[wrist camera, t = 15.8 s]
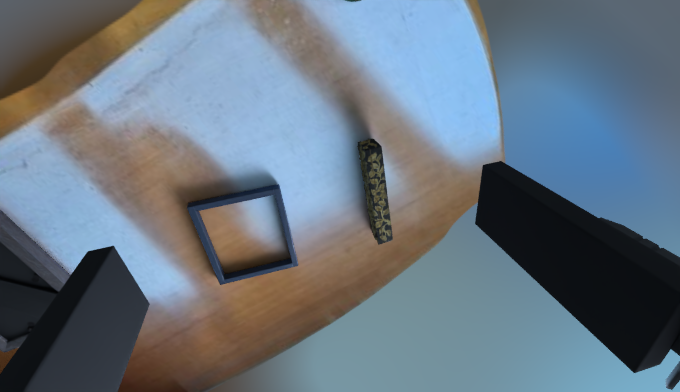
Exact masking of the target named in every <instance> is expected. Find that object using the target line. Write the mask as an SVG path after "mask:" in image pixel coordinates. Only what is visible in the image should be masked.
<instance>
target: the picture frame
mask: <svg viewBox="0 0 680 392" xmlns="http://www.w3.org/2000/svg"><path fill="white" fill-rule="evenodd" d="M69 277H70V275H69V274H68V273H67V272H66V271H65V270H64V269H63V268H62V267H61V266H60V265H59V264H58V263H56V262H55V261H54V260H53V259H52V258H51V257H50V256H49V255H48V254H47V253H46V252H45V251H44V250H43V249H41V248H40V247H39V246H38V245H37V244H36V243H35V242H34V241H33V240H32V239H31V238H30V237H29V236H28V235H26V234H25V233H24V232H23V231H22V230H21V229H20V228H19V227H18V226H17V225H16V224H15V223H14V222H13V221H12V220H10V219H9V218H8V217H7V216H6V215H5V214H4V213H3V212H2V211H1V210H0V350H1V351H3V352H7V351H10V350H12V349H15V348H18V347H20V346H21V344H22V343H23V342H24V340H25V339H26V337H27V336H28V335H29V333H30V332H31V330H32V329H33V328H34V326H35V325H36V323H37V322H38V321H39V319H40V318H41V316H42V315H43V314H44V312H45V311H46V309H47V308H48V307H49V305H50V304H51V302H52V301H53V300H54V298H55V297H56V295H57V294H58V293H59V291H60V290H61V288H62V287H63V286H64V284H65V283H66V281H67V280H68V279H69Z"/></svg>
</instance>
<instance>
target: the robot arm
mask: <svg viewBox="0 0 680 392" xmlns="http://www.w3.org/2000/svg"><path fill="white" fill-rule="evenodd" d="M475 224H476V225H477V226H478V227H479V228H480V229H481V230H482V231H483V232H485V233H486V234H487V235H488V236H489V237H490V238H491V239H492V240H493V241H494V242H495V243H497V245H498V246H499V247H501V248H502V249H503V250H504V251H505V252H506V253H507V254H508V255H509V256H510V257H511V258H512V259H514V261H515V262H517V263H518V264H519V265H520V266H521V267H522V268H523V269H524V270H525V271H526V272H527V273H528V274H529V275H531V277H533V278H534V279H535V280H536V281H537V282H538V283H539V284H540V285H541V286H542V287H543V288H544V289H545V290H546V291H547V292H549V293H550V294H551V295H552V296H553V297H554V298H555V299H556V300H557V301H558V302H559V303H560V304H561V305H562V306H564V308H565V309H567V310H568V311H569V312H570V313H571V314H572V315H573V316H574V317H575V318H576V319H577V320H578V321H579V322H580V323H581V324H583V325H584V326H585V327H586V328H587V329H588V330H589V331H590V332H591V333H592V334H593V335H594V336H595V337H596V338H597V339H599V340H600V341H601V342H602V343H603V344H604V345H605V346H606V347H607V348H608V349H609V350H610V351H611V352H612V353H613V354H615V355H616V356H617V357H618V358H619V359H620V360H621V361H622V362H623V363H624V364H625V365H626V366H627V367H628V368H629V369H630V370H632V371H633V372H634V373H636V372H639V371H642V370H645V369H648V368H651V367H654V366H656V365H659V364H660V363H661V362H662V361H663V359H664V358H665V356H666V355H667V354H668V352H669V350H670V349H672V350H673V351H674V352H676V353H677V354H678V355H679V356H680V257H678V256H676V255H674V254H673V253H671V252H669V251H667V250H666V249H664V248H659V246H658V245H657V244H655V243H653V242H652V241H649V240H648V239H643V236H641V235H639V234H637V233H636V232H634V231H632V230H630V229H629V228H627V227H625V226H623V225H621V224H618V223H615V222H612V221H609V220H606V219H604V218H597V217H595V216H594V215H592V214H590V213H589V212H587V211H585V210H584V209H582V208H580V207H578V206H576V205H575V204H573V203H572V202H570V201H568V200H566V199H565V198H563V197H561V196H560V195H558V194H556V193H554V192H553V191H551V190H550V189H548V188H546V187H544V186H543V185H541V184H539V183H537V182H536V181H534V180H532V179H531V178H529V177H527V176H525V175H524V174H522V173H520V172H519V171H517V170H515V169H514V168H512V167H510V166H509V165H507V164H505V163H503V162H502V161H499V162H495V163H490V164H486V165H483V169H482V176H481V184H480V191H479V199H478V206H477V214H476V222H475ZM148 307H149V302H148V300H147V299H146V297H145V296H144V294H143V292H142V291H141V289H140V288H139V286H138V284H137V283H136V281H135V280H134V278H133V276H132V275H131V273H130V272H129V270H128V268H127V267H126V265H125V263H124V262H123V260H122V259H121V257H120V255H119V254H118V252H117V251H116V249H115V247H114V246H111V247H106V248H101V249H97V250H92V251H88V252H87V253H86V255H85V256H84V258H83V259H82V260H81V262H80V263H79V265H78V266H77V267H76V269H75V270H74V272H73V273H72V274H71V276H70V277H69V279H68V280H67V281H66V283H65V284H64V286H63V287H62V288H61V290H60V291H59V293H58V294H57V295H56V297H55V298H54V300H53V301H52V302H51V304H50V305H49V307H48V308H47V309H46V311H45V312H44V314H43V315H42V316H41V318H40V319H39V321H38V322H37V323H36V325H35V326H34V328H33V329H32V330H31V332H30V333H29V335H28V336H27V337H26V339H25V340H24V342H23V343H22V344H21V346H20V347H19V349H18V350H17V351H16V353H15V354H14V356H13V357H12V358H11V360H10V361H9V363H8V364H7V365H6V367H5V368H4V370H3V371H2V372H1V374H0V392H117V391H118V389H119V386H120V383H121V381H122V378H123V375H124V372H125V370H126V367H127V364H128V361H129V359H130V356H131V353H132V351H133V348H134V345H135V342H136V340H137V337H138V334H139V332H140V329H141V326H142V323H143V321H144V318H145V315H146V312H147V310H148ZM679 380H680V362H679V363H678V364H677V366H676V367H675V368H674V370H673V371H672V372H671V374H670V375H669V376H668V378H667V379H666V388H668V389H671V390H672V389H673V388H674V387H675V385H676V384H677V383H678V382H679Z"/></svg>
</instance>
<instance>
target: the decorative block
mask: <svg viewBox="0 0 680 392" xmlns="http://www.w3.org/2000/svg"><path fill="white" fill-rule="evenodd" d="M358 150H359V155H360V158H359V159H360V160H361V169H362V176H363V181H364V188H365V192H366V200H367V202H368V206H367V207H368V213H369V217H370V222H371V228H372V233H373V235H374V238H375V240H377V242H378V245H379V244H382V243H385V242H389V241H391V240H393V237H392V228H391V221H390V213H389V205H388V197H387V188H386V180H385V172H384V163H383V155H382V147H381V146H380V145H379V143H377V142H376V141H375V140H374V139H367V140H364V141H360V142H358Z"/></svg>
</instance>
